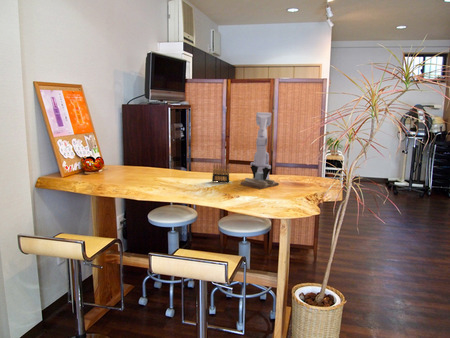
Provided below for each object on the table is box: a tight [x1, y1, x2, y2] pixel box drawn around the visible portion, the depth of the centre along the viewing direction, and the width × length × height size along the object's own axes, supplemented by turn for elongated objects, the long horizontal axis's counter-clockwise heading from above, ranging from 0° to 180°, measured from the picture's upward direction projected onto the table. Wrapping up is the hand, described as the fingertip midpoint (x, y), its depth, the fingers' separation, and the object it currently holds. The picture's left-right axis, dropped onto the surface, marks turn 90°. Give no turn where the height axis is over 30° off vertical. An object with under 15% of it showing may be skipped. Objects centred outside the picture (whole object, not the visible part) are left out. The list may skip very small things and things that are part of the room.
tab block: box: [255, 172, 264, 181], centre depth 231 cm, size 4×4×6 cm
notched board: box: [239, 176, 280, 190], centre depth 231 cm, size 18×16×4 cm
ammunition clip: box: [211, 162, 230, 183], centre depth 234 cm, size 11×2×12 cm, turn 80°
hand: (259, 178), depth 231 cm, fingers open, 7 cm apart
